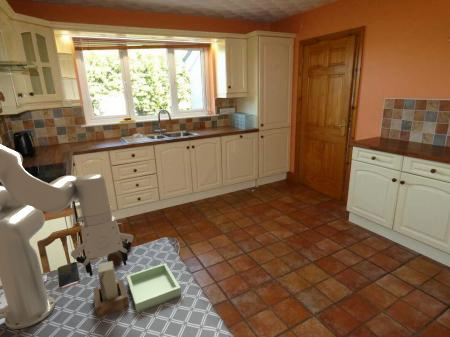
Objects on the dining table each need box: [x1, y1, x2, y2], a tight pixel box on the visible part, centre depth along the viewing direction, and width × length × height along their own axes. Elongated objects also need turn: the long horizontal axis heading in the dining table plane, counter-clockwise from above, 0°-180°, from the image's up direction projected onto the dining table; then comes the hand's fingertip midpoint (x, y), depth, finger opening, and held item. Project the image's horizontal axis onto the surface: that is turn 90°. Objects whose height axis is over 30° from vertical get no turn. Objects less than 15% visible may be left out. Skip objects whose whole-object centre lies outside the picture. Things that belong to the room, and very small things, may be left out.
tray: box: [125, 262, 182, 313], centre depth 92 cm, size 14×16×3 cm
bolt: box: [106, 239, 133, 266], centre depth 114 cm, size 6×5×15 cm
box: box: [97, 261, 119, 302], centre depth 86 cm, size 5×4×13 cm
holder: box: [93, 278, 130, 319], centre depth 87 cm, size 9×10×4 cm
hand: (108, 268), depth 85 cm, fingers open, 9 cm apart
